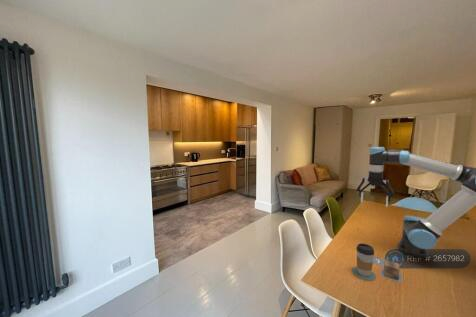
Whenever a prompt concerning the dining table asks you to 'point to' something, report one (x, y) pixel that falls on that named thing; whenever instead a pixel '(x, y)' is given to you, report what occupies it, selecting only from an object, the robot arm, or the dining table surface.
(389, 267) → the brown cube
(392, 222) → the dining table surface
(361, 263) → the coffee cup
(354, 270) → the coaster
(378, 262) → the tile
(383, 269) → the code tile
